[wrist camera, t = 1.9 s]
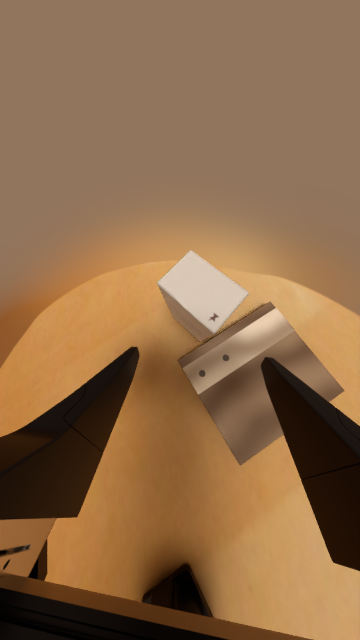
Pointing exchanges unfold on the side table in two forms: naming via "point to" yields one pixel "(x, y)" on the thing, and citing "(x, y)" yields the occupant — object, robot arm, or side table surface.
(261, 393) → the bent metal bracket plate
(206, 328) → the skincare box
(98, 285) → the side table surface
